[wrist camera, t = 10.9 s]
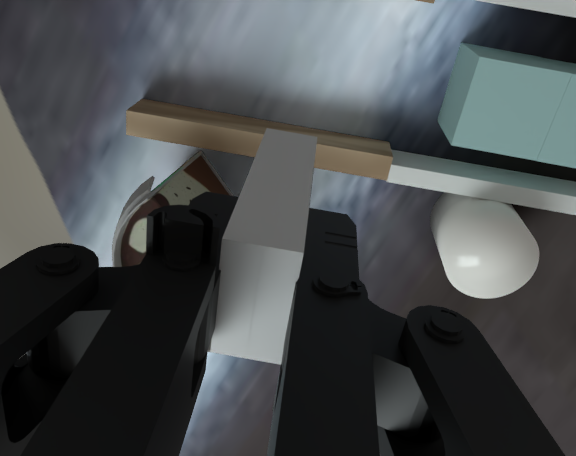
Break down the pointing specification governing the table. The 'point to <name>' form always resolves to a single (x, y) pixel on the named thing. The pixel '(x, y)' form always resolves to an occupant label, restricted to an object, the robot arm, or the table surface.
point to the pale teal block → (501, 101)
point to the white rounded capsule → (483, 245)
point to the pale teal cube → (562, 126)
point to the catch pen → (484, 178)
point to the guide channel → (254, 136)
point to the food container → (171, 191)
